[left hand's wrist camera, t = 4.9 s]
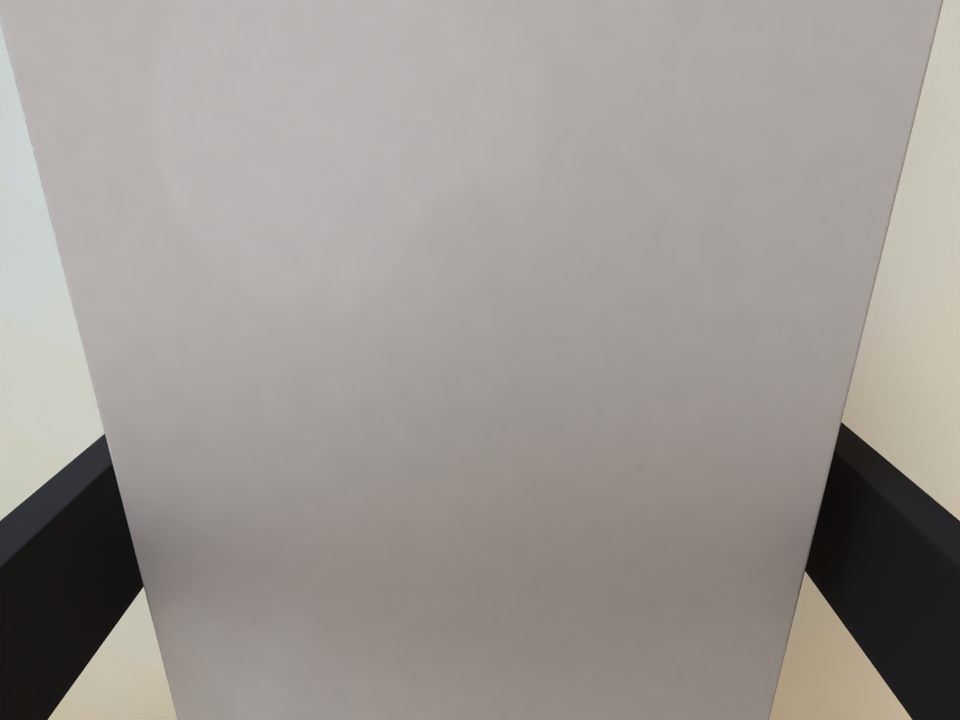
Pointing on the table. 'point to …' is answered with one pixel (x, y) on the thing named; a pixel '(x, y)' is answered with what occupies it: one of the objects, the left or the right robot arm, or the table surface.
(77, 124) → the cabinet
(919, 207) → the table surface
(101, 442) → the left robot arm
